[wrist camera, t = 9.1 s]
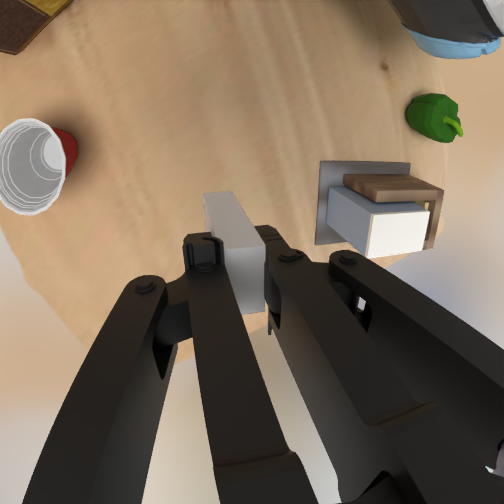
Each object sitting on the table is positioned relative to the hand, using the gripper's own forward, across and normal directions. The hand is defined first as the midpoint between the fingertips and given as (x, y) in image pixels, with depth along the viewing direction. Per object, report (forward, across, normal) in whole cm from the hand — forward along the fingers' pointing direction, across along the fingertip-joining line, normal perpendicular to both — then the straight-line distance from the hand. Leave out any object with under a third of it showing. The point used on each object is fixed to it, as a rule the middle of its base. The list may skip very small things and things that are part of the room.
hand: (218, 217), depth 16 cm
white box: (+27, +25, -10) cm, 39 cm away
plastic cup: (+28, -19, +2) cm, 34 cm away
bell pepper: (+29, +38, +6) cm, 48 cm away
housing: (+28, +27, -10) cm, 40 cm away
